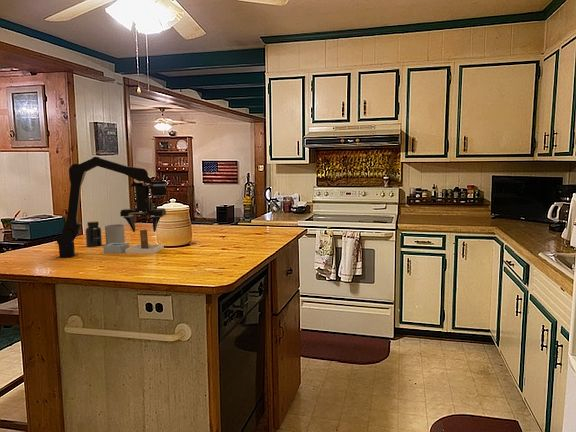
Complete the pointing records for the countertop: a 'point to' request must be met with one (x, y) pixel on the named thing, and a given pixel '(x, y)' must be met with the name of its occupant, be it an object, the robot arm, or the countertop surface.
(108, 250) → the grey square peg base
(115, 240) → the cup
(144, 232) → the dowel
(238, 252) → the countertop surface
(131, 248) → the tray
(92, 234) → the supplement bottle
